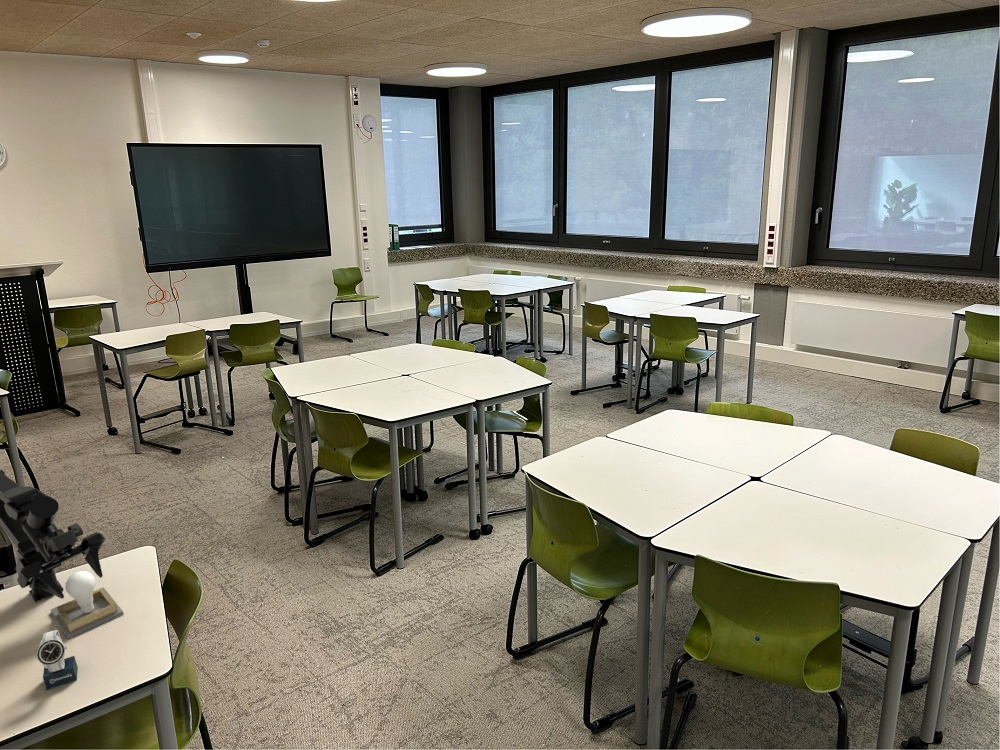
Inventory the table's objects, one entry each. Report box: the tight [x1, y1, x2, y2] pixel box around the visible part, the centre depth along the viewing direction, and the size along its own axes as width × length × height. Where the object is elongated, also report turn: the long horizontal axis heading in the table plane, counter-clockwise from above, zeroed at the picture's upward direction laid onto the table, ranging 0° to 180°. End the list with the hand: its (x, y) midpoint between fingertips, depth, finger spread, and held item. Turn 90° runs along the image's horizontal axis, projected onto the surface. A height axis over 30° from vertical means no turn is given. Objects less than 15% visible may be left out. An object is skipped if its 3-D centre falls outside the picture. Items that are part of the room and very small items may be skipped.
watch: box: [36, 629, 79, 690], centre depth 148 cm, size 6×8×11 cm
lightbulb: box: [65, 570, 96, 613], centre depth 168 cm, size 6×6×11 cm
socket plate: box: [50, 587, 124, 640], centre depth 171 cm, size 15×12×3 cm
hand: (82, 587), depth 167 cm, fingers open, 9 cm apart
